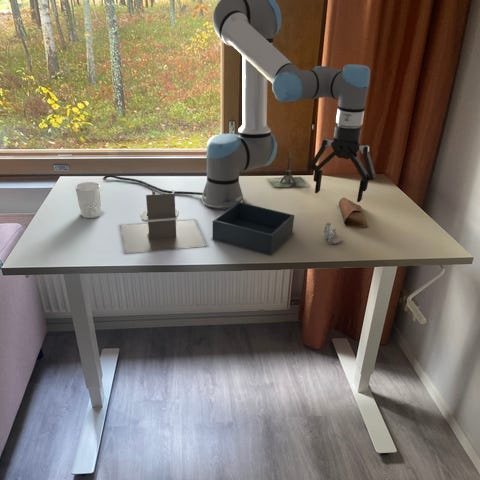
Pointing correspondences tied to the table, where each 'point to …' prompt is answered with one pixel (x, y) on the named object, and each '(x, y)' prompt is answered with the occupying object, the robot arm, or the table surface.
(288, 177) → the eiffel tower figurine
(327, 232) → the soldier figure
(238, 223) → the tote
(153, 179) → the table surface
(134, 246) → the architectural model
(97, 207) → the white cup
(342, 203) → the sunglasses case
